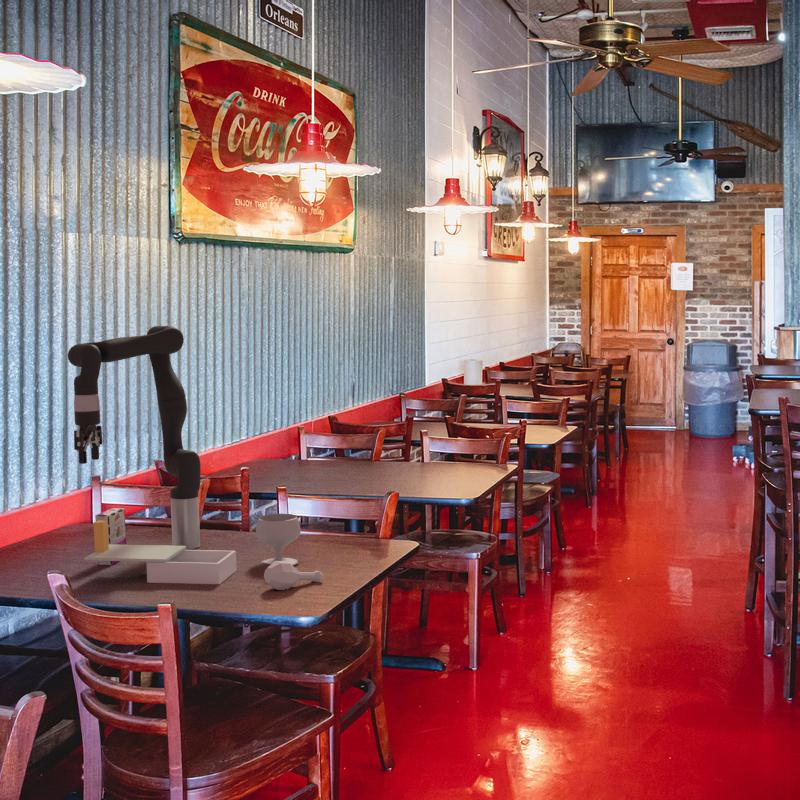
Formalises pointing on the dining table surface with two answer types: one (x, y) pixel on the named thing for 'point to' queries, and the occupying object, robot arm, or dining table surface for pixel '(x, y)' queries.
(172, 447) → the robot arm
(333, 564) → the dining table surface
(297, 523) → the chalice
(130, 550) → the lid
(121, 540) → the candy bar box
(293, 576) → the chicken leg
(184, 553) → the tub
